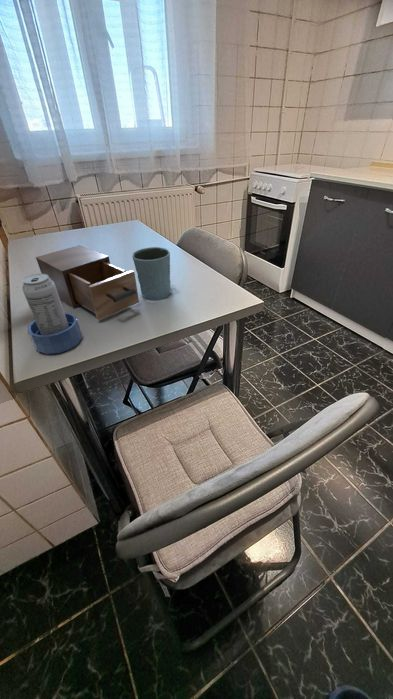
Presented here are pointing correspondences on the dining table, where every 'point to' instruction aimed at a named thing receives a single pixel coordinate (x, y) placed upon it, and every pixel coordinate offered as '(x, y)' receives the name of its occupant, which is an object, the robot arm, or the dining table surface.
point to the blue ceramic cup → (153, 272)
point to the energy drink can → (45, 304)
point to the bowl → (56, 337)
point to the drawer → (103, 288)
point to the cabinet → (68, 268)
